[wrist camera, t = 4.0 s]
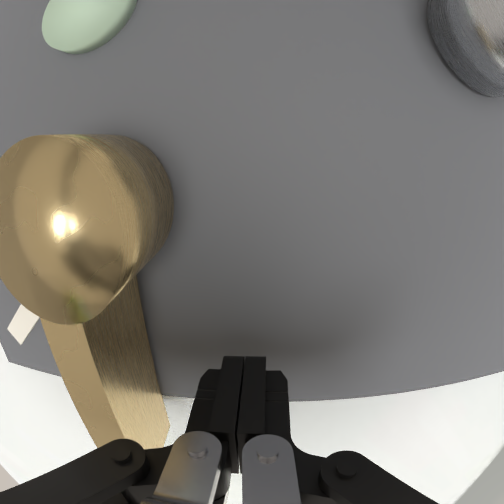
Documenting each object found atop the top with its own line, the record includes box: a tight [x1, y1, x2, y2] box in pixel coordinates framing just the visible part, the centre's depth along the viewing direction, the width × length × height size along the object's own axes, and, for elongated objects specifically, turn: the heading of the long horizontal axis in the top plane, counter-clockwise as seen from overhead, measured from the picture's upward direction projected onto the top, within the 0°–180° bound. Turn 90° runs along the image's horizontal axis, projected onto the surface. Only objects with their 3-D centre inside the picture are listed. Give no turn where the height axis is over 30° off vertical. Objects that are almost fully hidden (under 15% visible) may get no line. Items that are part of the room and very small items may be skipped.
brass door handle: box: [0, 134, 174, 449], centre depth 10 cm, size 14×5×4 cm, turn 1°
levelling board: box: [0, 0, 504, 401], centre depth 9 cm, size 29×33×2 cm
